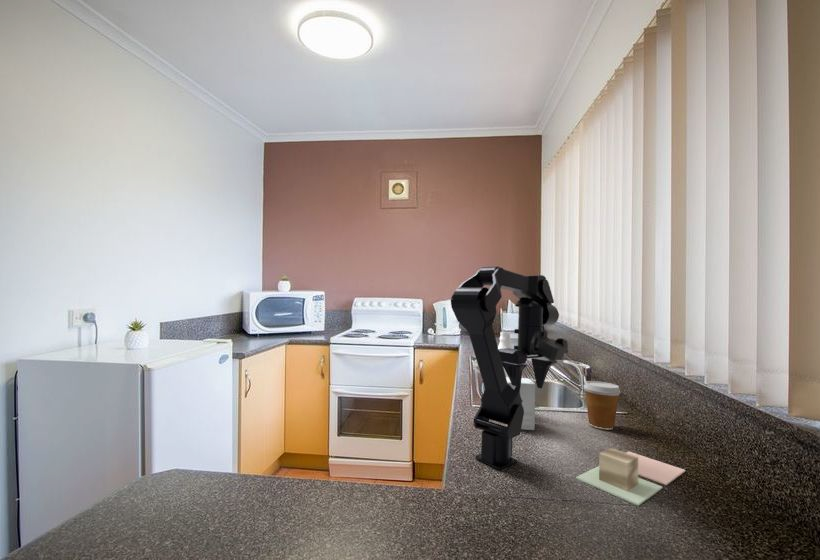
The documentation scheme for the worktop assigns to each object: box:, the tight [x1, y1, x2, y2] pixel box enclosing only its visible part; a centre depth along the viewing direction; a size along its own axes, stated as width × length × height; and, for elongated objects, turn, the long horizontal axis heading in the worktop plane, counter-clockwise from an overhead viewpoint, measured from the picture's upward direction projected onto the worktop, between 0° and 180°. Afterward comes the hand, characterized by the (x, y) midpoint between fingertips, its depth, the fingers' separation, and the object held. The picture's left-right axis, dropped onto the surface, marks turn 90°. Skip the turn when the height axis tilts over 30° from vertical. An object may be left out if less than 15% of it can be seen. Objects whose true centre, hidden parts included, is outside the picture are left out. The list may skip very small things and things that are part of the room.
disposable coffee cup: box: [582, 380, 621, 428], centre depth 102 cm, size 10×10×12 cm
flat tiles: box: [575, 450, 686, 507], centre depth 72 cm, size 24×11×1 cm, turn 127°
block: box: [598, 447, 639, 491], centre depth 69 cm, size 5×5×5 cm
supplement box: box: [505, 377, 536, 431], centre depth 100 cm, size 7×7×13 cm
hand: (528, 390), depth 87 cm, fingers open, 9 cm apart
